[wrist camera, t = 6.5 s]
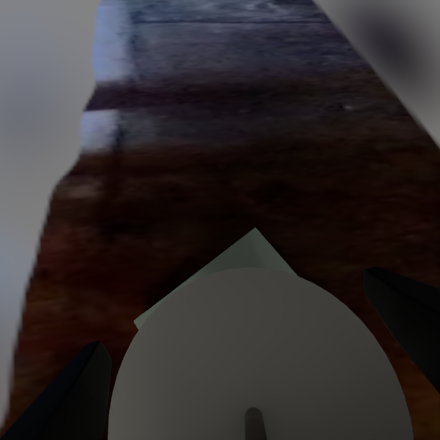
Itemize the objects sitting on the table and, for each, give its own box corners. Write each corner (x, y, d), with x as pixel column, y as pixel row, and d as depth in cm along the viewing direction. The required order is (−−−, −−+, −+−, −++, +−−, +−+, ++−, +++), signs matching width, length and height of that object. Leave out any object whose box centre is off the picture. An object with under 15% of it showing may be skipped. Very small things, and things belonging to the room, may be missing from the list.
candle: (303, 330, 16) (517, 404, 4) (256, 407, 15) (326, 896, 2) (235, 279, 17) (219, 206, 5) (187, 347, 16) (9, 475, 4)
